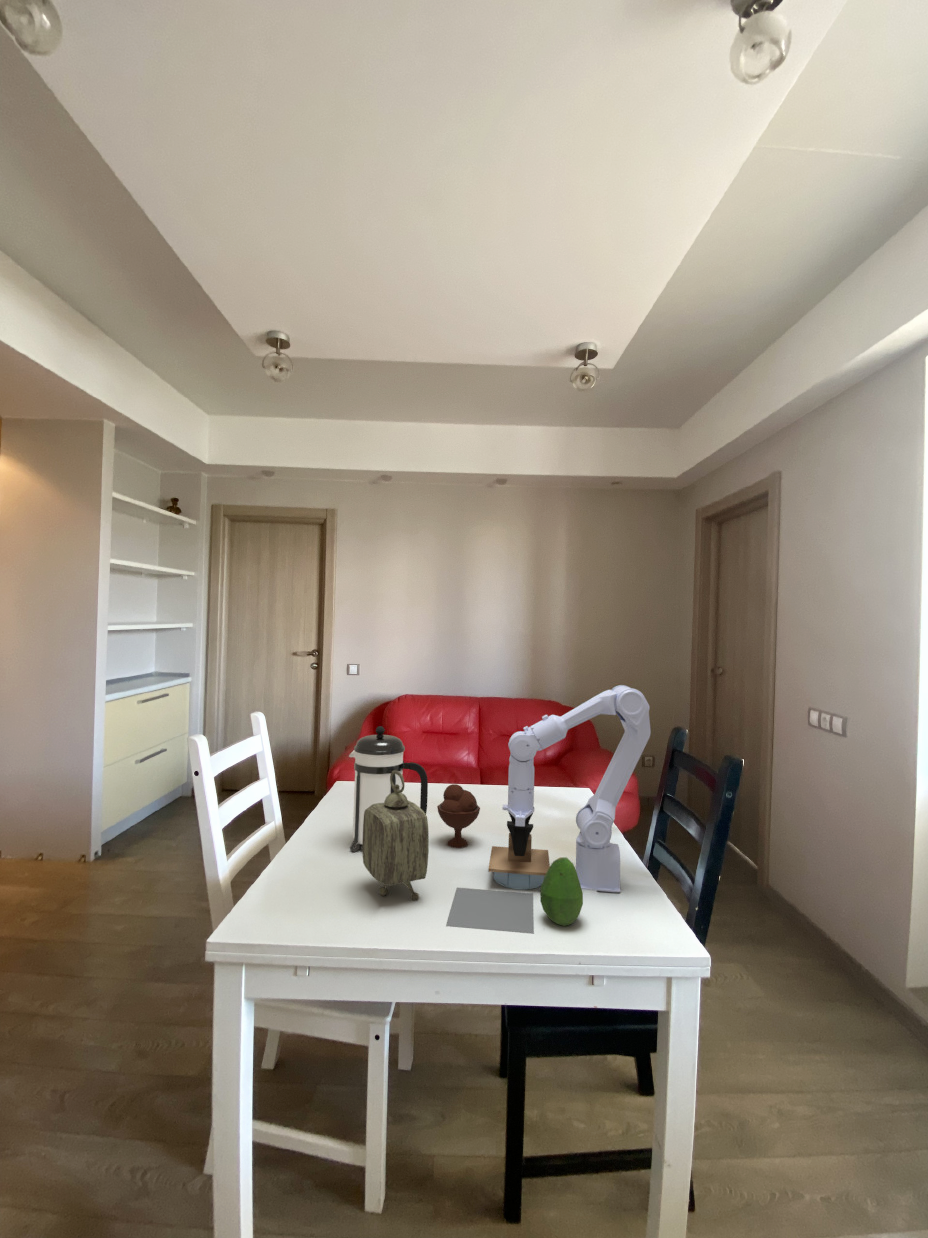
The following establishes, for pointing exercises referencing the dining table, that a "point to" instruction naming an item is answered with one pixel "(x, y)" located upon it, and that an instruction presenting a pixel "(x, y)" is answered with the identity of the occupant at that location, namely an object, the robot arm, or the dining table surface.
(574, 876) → the avocado
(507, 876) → the bowl
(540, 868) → the cover board
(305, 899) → the dining table surface
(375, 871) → the tabletop clock
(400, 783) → the coffee press
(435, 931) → the dining table surface
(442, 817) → the ice cream bowl
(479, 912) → the mat
